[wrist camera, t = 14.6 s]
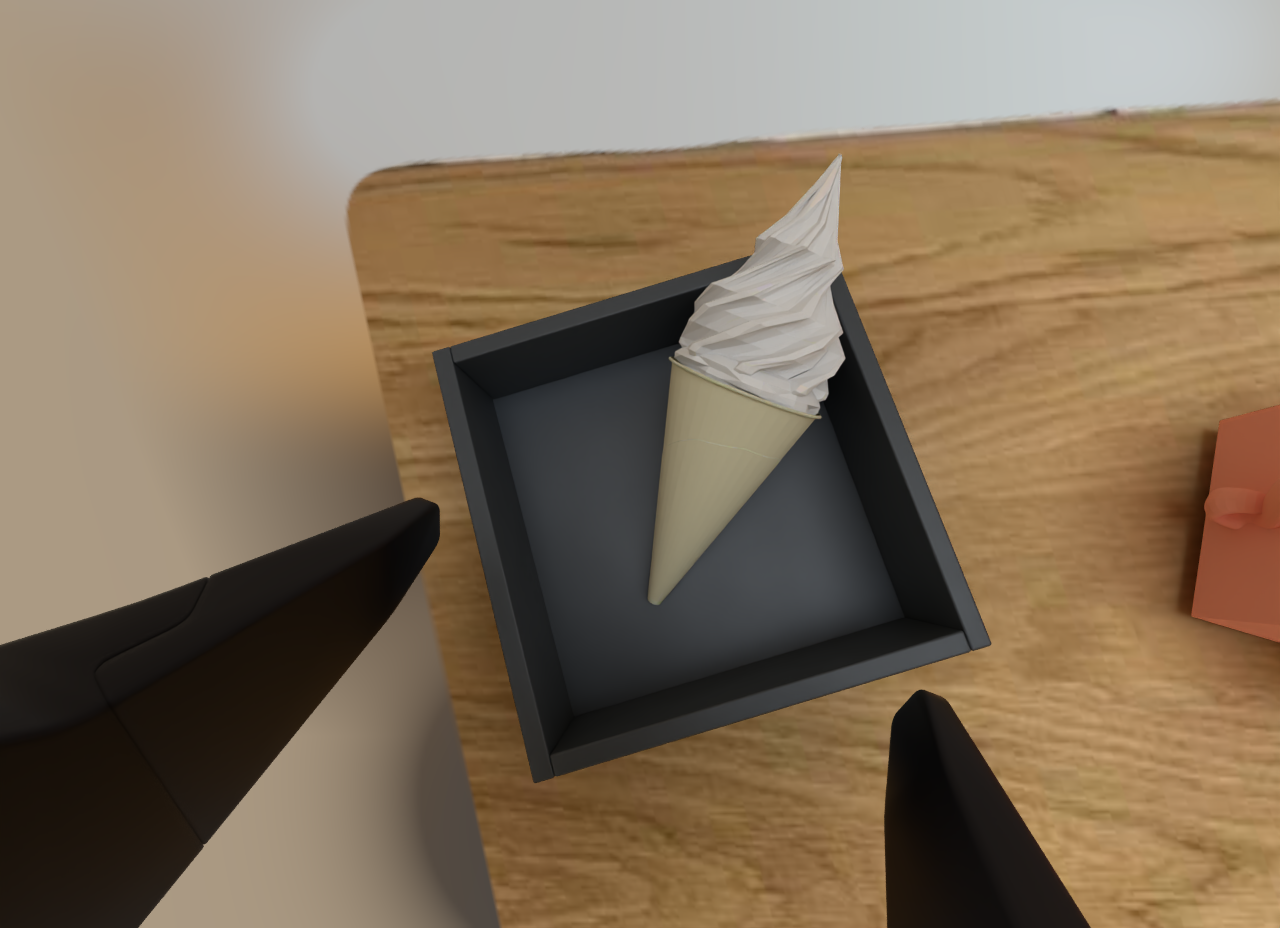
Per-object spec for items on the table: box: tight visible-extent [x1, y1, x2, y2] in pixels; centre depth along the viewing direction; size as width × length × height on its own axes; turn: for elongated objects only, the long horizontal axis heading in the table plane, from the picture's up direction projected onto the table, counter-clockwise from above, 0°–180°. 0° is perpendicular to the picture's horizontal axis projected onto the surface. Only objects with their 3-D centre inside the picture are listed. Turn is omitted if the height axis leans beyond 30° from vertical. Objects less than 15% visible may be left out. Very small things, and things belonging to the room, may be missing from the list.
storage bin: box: [432, 255, 991, 783], centre depth 19 cm, size 13×13×5 cm
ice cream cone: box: [647, 154, 845, 605], centre depth 17 cm, size 5×5×15 cm
